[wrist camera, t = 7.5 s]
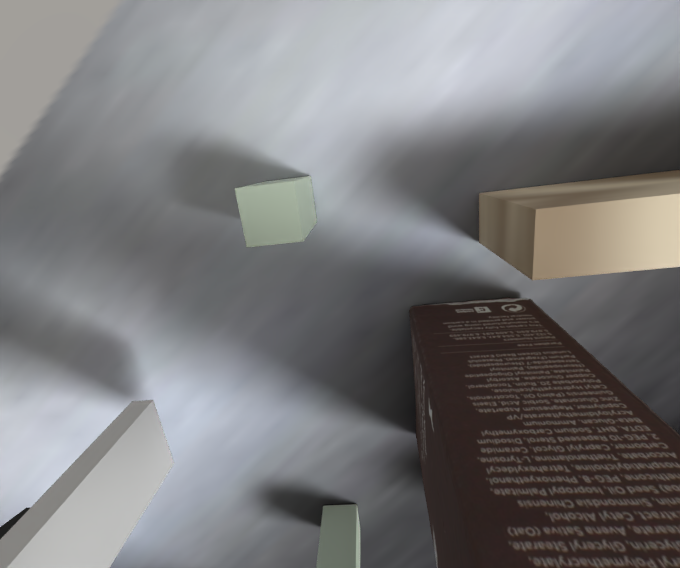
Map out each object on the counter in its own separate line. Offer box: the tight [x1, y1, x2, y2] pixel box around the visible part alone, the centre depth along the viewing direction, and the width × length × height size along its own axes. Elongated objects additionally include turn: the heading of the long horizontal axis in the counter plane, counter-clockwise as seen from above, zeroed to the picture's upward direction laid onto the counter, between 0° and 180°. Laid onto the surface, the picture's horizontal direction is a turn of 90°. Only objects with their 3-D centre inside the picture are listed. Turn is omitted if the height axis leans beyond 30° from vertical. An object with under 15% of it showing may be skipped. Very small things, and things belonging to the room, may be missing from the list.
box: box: [409, 298, 680, 568], centre depth 8 cm, size 6×4×12 cm
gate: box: [234, 176, 360, 568], centre depth 13 cm, size 2×16×3 cm, turn 7°
